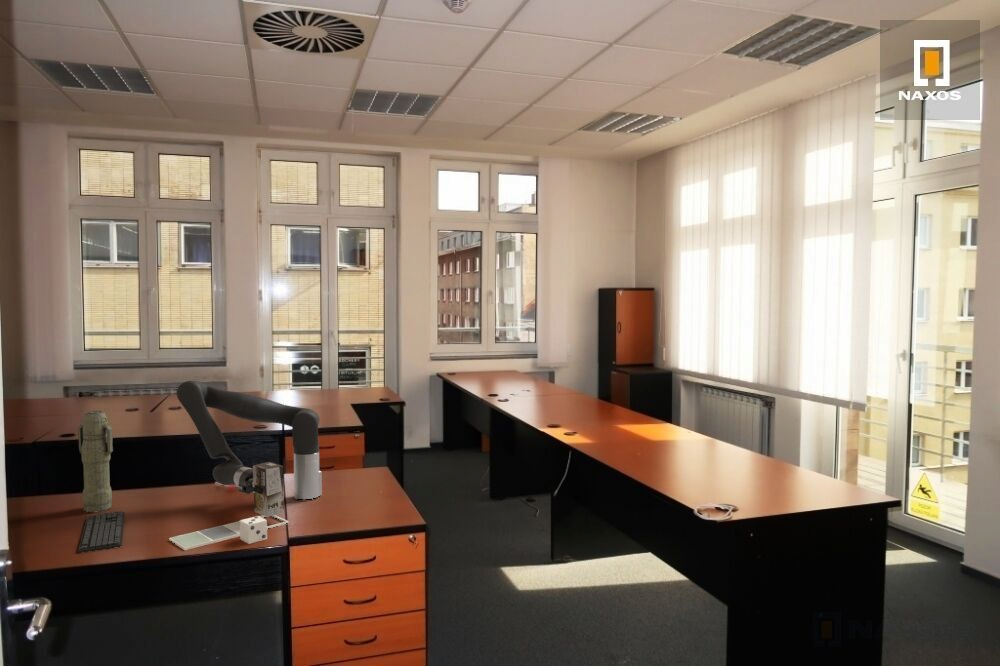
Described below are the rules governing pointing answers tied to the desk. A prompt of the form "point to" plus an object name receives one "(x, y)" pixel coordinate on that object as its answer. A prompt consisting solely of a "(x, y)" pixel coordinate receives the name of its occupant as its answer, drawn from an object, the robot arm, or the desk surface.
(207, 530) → the board
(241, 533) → the die
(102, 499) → the khaki stone statue
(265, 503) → the coffee box
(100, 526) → the keyboard
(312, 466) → the robot arm
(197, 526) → the desk surface
